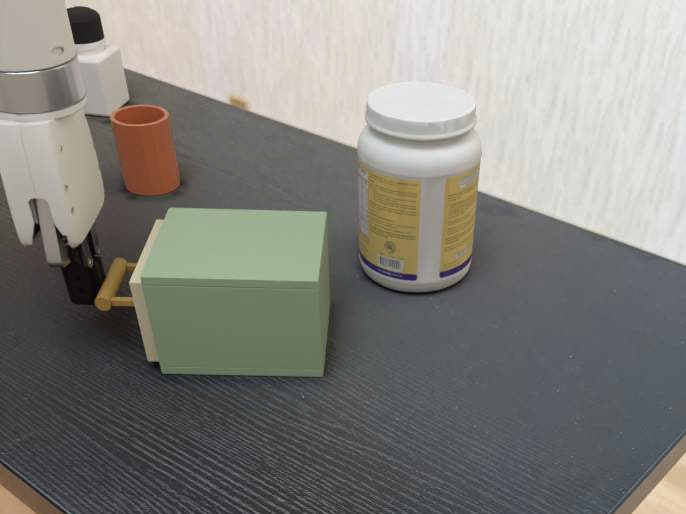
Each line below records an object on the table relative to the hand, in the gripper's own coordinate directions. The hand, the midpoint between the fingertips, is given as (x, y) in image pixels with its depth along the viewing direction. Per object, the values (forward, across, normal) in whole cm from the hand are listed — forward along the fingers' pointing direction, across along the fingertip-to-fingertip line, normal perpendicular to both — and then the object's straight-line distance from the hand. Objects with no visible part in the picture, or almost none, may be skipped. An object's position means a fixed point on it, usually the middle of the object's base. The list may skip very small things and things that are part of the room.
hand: (91, 300), depth 74 cm
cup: (+4, -33, -2) cm, 33 cm away
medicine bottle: (+4, -58, -15) cm, 60 cm away
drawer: (+3, 0, +10) cm, 11 cm away
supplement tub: (+4, -14, +30) cm, 34 cm away
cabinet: (+4, 0, +14) cm, 15 cm away
